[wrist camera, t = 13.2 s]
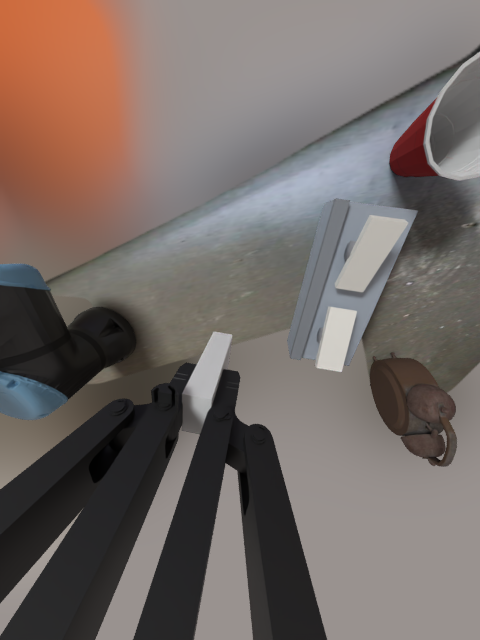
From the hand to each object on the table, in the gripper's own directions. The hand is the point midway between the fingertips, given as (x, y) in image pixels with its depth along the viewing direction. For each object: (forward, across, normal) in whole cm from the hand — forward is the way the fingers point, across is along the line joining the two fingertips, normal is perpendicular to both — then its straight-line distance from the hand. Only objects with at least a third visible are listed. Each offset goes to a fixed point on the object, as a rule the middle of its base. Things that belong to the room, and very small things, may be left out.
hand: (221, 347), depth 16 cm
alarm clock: (+29, +34, -17) cm, 48 cm away
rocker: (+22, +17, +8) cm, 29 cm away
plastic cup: (+29, +22, +22) cm, 42 cm away
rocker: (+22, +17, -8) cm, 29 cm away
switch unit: (+28, +17, 0) cm, 33 cm away
